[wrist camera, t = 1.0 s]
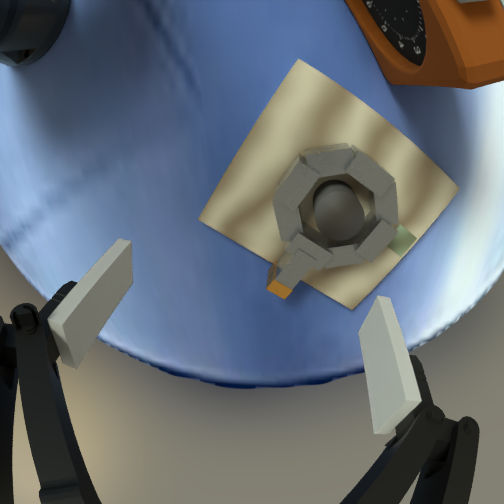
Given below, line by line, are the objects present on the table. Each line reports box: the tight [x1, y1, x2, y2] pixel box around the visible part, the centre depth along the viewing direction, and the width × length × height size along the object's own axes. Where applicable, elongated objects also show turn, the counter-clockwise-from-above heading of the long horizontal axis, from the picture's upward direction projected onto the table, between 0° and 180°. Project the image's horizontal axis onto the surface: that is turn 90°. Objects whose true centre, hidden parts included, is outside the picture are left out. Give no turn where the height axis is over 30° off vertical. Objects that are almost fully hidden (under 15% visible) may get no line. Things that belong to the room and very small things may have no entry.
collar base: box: [198, 59, 460, 310], centre depth 33 cm, size 24×22×6 cm
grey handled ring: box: [266, 143, 398, 299], centre depth 34 cm, size 18×13×4 cm
